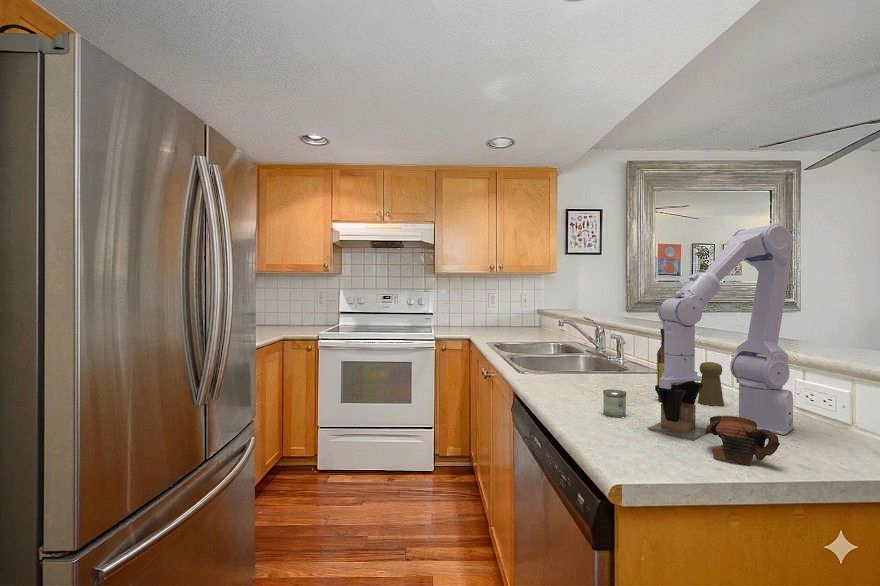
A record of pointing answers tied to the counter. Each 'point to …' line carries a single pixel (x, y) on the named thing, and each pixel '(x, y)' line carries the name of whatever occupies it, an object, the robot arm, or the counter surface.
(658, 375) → the sauce bottle
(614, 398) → the green spice tin
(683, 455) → the counter surface
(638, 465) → the counter surface
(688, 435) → the slate tile
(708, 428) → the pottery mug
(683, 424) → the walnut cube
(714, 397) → the cork
